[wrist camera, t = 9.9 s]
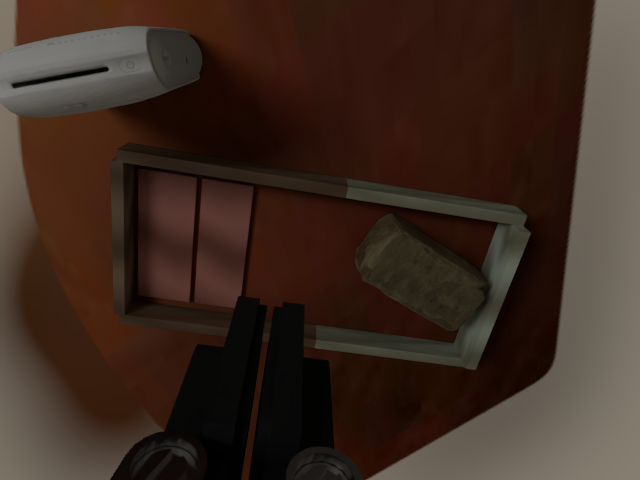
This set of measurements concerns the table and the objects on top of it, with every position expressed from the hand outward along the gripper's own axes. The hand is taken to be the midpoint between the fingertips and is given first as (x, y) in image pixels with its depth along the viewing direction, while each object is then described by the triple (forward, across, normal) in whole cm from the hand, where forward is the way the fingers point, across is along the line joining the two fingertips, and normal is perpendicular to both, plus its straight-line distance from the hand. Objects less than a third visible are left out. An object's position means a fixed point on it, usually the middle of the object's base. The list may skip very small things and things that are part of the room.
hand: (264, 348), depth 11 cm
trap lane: (+29, -3, +12) cm, 32 cm away
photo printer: (+29, +13, -3) cm, 32 cm away
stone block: (+30, -13, +10) cm, 34 cm away
